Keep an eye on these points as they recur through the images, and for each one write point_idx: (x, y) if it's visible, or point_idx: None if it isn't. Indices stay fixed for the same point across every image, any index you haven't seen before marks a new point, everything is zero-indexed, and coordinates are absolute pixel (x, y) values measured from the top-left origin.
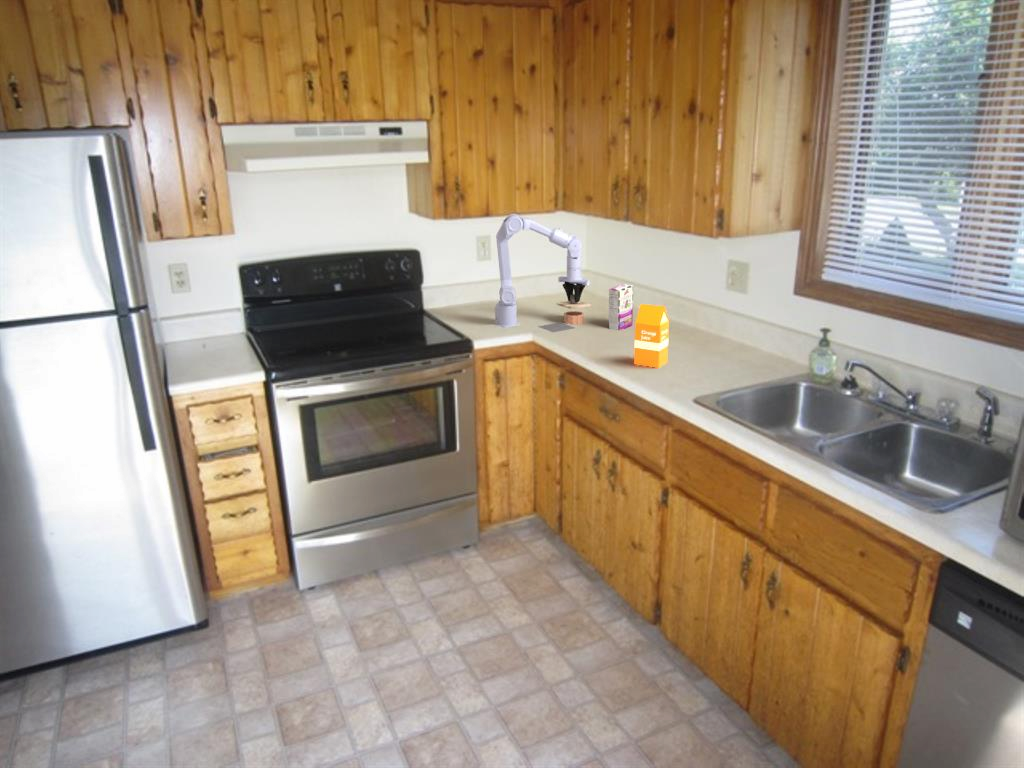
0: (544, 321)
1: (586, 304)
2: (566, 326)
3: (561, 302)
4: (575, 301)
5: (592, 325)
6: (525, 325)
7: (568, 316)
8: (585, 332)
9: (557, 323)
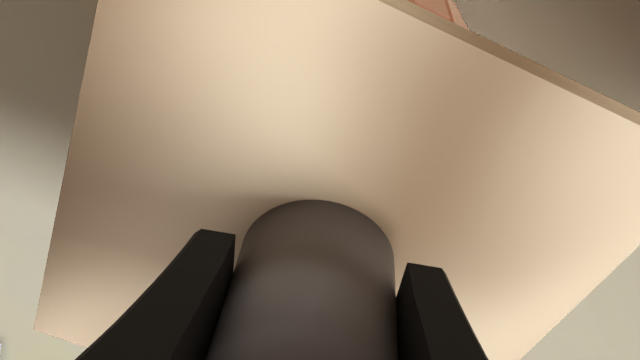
0: (26, 164)
1: (616, 226)
2: None
3: (76, 280)
4: None
5: (626, 85)
6: (24, 324)
7: None
8: (614, 327)
9: None
